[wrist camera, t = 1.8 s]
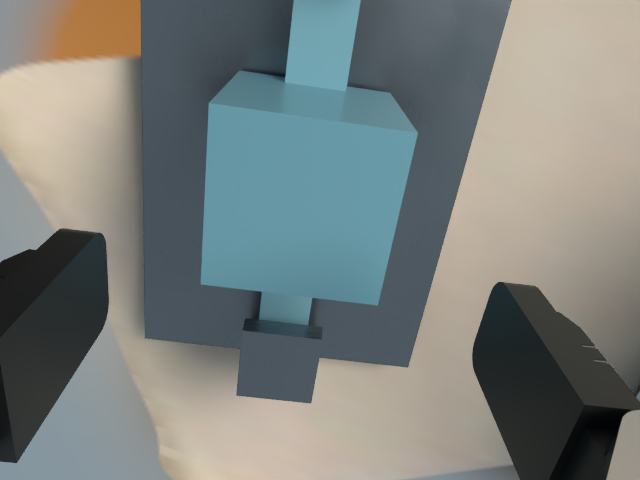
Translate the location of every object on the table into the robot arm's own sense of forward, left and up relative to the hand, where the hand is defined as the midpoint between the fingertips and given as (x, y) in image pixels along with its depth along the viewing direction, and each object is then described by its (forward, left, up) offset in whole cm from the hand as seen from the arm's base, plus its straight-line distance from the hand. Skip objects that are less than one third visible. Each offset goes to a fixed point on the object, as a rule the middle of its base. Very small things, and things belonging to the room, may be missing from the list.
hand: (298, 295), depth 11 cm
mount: (0, 0, -11) cm, 11 cm away
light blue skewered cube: (0, 0, -9) cm, 9 cm away
